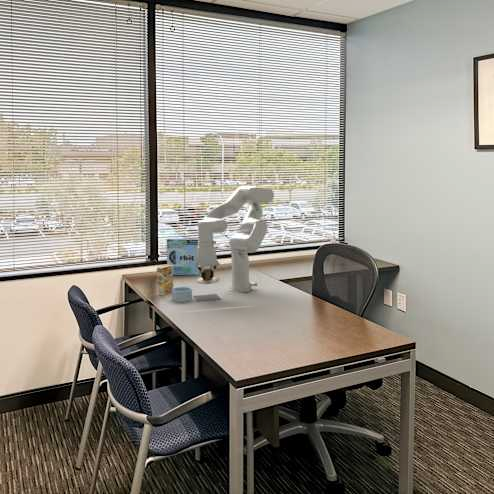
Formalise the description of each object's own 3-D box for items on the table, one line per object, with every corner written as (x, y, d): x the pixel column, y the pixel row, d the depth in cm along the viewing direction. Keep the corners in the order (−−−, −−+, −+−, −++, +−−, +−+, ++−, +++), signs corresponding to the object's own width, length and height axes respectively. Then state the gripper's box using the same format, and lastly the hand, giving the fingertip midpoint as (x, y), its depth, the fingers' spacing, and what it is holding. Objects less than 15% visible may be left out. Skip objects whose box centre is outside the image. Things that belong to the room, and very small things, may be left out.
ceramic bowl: (189, 297, 282) (189, 286, 281) (193, 302, 273) (193, 290, 272) (170, 298, 279) (170, 287, 278) (174, 303, 270) (173, 292, 269)
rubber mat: (216, 295, 287) (216, 293, 287) (222, 300, 274) (222, 299, 274) (192, 296, 283) (192, 295, 283) (197, 303, 271) (197, 301, 271)
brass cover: (216, 277, 285) (215, 266, 284) (221, 282, 274) (221, 270, 273) (194, 279, 282) (193, 268, 281) (198, 284, 270) (198, 272, 269)
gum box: (167, 275, 338) (166, 239, 335) (169, 273, 343) (168, 238, 340) (197, 275, 337) (196, 239, 333) (198, 273, 342) (198, 238, 338)
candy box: (163, 296, 285) (162, 268, 283) (157, 295, 288) (156, 267, 285) (173, 292, 293) (172, 265, 291) (167, 291, 295) (166, 264, 293)
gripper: (220, 241, 280) (221, 275, 283) (188, 244, 275) (190, 278, 279) (223, 244, 273) (224, 278, 276) (191, 246, 268) (193, 281, 272)
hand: (207, 278), depth 277 cm, fingers closed on brass cover, 3 cm apart
